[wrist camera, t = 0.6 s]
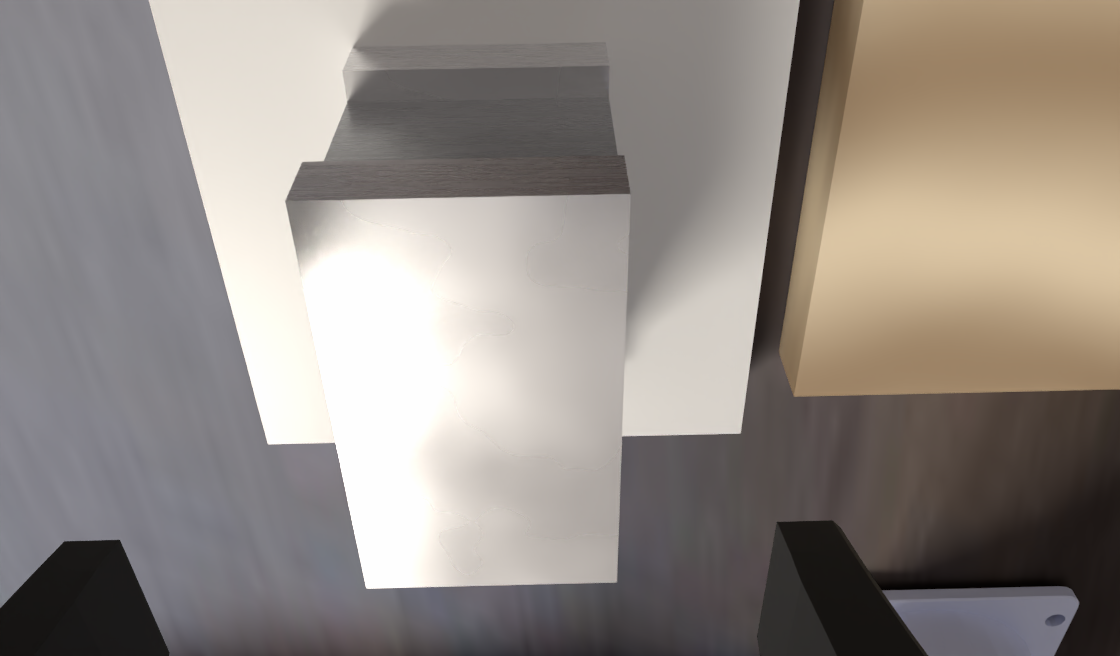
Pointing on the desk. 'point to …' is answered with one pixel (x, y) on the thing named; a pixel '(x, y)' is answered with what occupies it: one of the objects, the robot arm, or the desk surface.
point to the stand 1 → (641, 136)
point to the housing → (473, 311)
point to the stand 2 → (961, 202)
